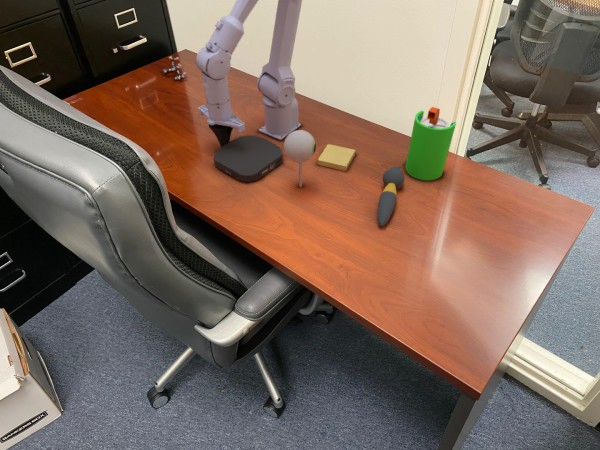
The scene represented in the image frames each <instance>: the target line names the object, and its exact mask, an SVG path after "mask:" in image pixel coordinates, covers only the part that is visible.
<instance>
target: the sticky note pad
mask: <svg viewBox="0 0 600 450" xmlns="http://www.w3.org/2000/svg"><path fill="white" fill-rule="evenodd" d="M355 155H356V149H352V148H348V147H342V146H339V145H334V144H330V143H327V145H326V146H325V147H324V149H323V151H322V153H321V154H320V155H319V157H318V159H317V165H318V166H321V167H325V168H326V167H327V168H330V169H333V170H339V171H343V172H347V170H348V169H349V166H350V164H351V163H352V161H353V159H354V158H355Z"/></svg>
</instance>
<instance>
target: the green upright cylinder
mask: <svg viewBox="0 0 600 450" xmlns="http://www.w3.org/2000/svg"><path fill="white" fill-rule="evenodd" d="M440 113H441V110H440V108H438V107H435V106H431V107H430V108H429V110H428V112H427V116H426V117H424V114H425V111H424V110H420V111H418V112H417V113H416V114H415V116H414V121H413V126H412V131H411V132H412V133H411V137H410V141H409V146H408V147H409V148H408V151H407V156H406V162H405V171H406V173H407V175H409V176H410V177H412V178H414V179H416V180H420V181H434V180H437V179H440V178H441V177H442V175H443V173H444V169H445V165H446V162H447V159H448V154H449V150H450V147H451V144H452V141H453V140H452V139H453V136H454V132H455V129H456V125H457V122H456V121H453V122H451V124H449V122H448V121H447V120H446V119H444V118H441V117H440Z"/></svg>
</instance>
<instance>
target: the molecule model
mask: <svg viewBox="0 0 600 450" xmlns="http://www.w3.org/2000/svg"><path fill="white" fill-rule="evenodd" d="M168 59H169V60H170V61H171V62H172V63H174V62H175V61H176V60H177V61H178V60H179V57H178V56H176V58H174V57H173V56H172V55H170V56H168ZM180 69H182V64H181V63H177V65H176V66H175V64H171V65H170V67H169V68H164V69H162V73H164V74H168V73H170V71H172V72H175V71H176V72H177V76H175V77H174V80H175V81H176V80H181V78H182V79H185V77H186V75H187V72H186V71H184V72H183V73H182V72H180V71H179V70H180Z"/></svg>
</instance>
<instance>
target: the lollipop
mask: <svg viewBox="0 0 600 450" xmlns="http://www.w3.org/2000/svg"><path fill="white" fill-rule="evenodd" d="M316 144H317V143H316V140H315V138H314V136H313V135H312V134H311V133H310V132H308V131H307V130H304V129H298V130H297V129H296V130H294V131H293V132H291V133H290V134H288V135H287V136H286V137H285V140H284V143H283V150H284V153H285V155H286V156H287V158H288V159H289V160H290V161H292V162H294V163H298V186H299V188H302V187H303V164H302V163H306V162H308V161H310V160H311V159H312V158H313V157H314V155H315V153H316V148H317V145H316Z"/></svg>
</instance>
